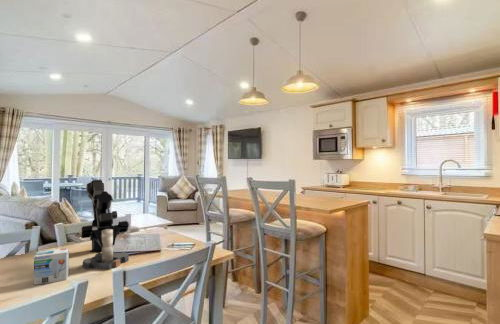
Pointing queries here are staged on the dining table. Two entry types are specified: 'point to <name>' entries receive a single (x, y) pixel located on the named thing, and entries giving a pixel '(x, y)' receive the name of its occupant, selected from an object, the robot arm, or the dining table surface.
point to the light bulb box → (51, 266)
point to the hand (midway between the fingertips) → (107, 245)
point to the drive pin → (107, 245)
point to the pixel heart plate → (98, 264)
